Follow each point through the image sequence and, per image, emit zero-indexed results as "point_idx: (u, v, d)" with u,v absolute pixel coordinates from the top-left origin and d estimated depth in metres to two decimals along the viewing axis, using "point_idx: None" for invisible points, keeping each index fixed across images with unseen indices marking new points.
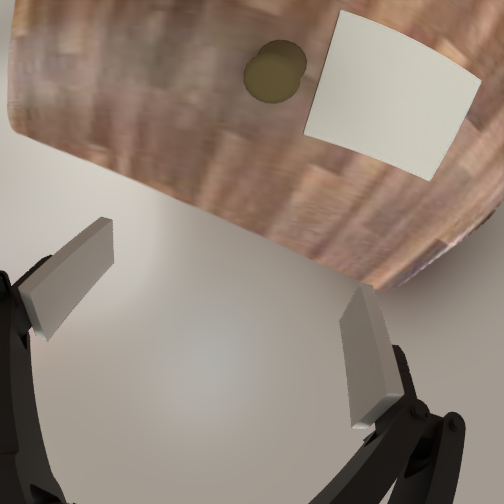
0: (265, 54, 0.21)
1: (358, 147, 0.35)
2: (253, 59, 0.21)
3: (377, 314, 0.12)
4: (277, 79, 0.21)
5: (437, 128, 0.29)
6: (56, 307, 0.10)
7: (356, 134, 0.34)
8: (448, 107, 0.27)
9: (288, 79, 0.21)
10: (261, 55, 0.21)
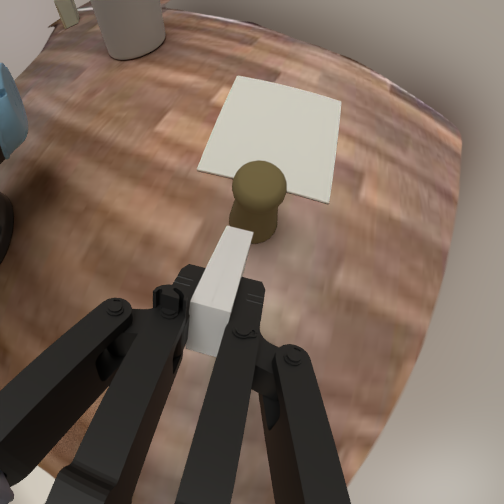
0: (233, 186, 0.26)
1: (330, 156, 0.39)
2: (238, 196, 0.26)
3: (241, 251, 0.14)
4: (258, 171, 0.26)
5: (291, 99, 0.41)
6: None
7: (318, 157, 0.39)
8: (270, 93, 0.41)
9: (258, 163, 0.26)
10: (234, 189, 0.26)
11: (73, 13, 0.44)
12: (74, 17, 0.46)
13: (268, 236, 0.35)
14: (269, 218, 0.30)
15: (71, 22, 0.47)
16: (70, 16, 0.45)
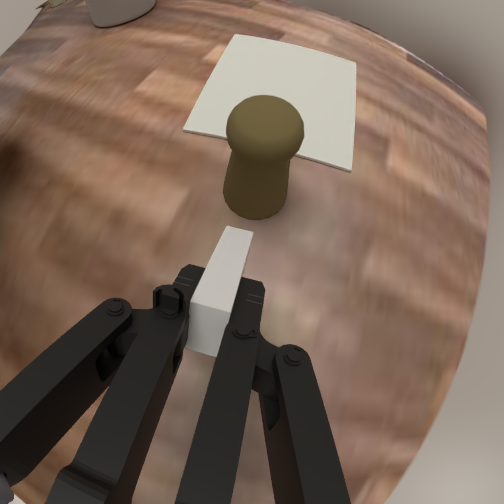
0: (228, 126, 0.17)
1: (349, 117, 0.30)
2: (234, 140, 0.17)
3: (241, 251, 0.14)
4: (264, 105, 0.16)
5: (298, 57, 0.32)
6: None
7: (335, 118, 0.29)
8: (273, 51, 0.32)
9: (264, 97, 0.17)
10: (229, 131, 0.17)
11: None
12: None
13: (275, 209, 0.26)
14: (279, 179, 0.21)
15: (58, 0, 0.37)
16: None
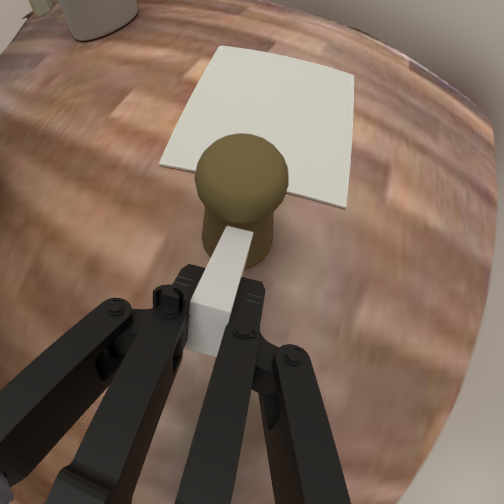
0: (196, 176, 0.15)
1: (345, 142, 0.27)
2: (203, 194, 0.15)
3: (241, 251, 0.14)
4: (239, 148, 0.14)
5: (289, 70, 0.30)
6: None
7: (329, 143, 0.27)
8: (261, 64, 0.30)
9: (239, 137, 0.15)
10: (197, 182, 0.15)
11: (45, 0, 0.33)
12: (46, 5, 0.34)
13: (259, 258, 0.23)
14: (260, 231, 0.19)
15: (43, 10, 0.35)
16: (41, 4, 0.33)
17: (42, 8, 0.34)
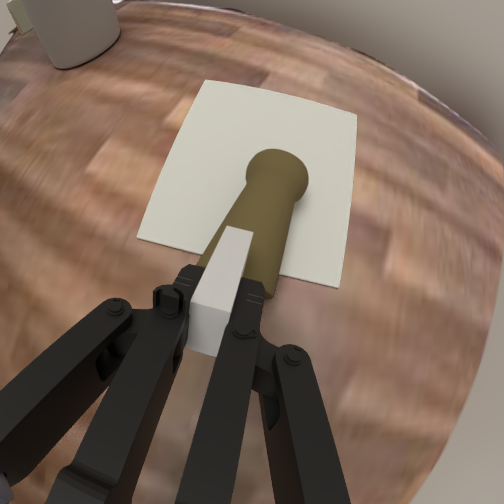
0: (256, 154, 0.22)
1: (343, 206, 0.26)
2: (267, 151, 0.21)
3: (241, 251, 0.14)
4: None
5: (283, 112, 0.28)
6: None
7: (324, 210, 0.26)
8: (251, 105, 0.28)
9: None
10: (259, 153, 0.22)
11: None
12: None
13: (272, 283, 0.20)
14: (287, 218, 0.21)
15: (27, 26, 0.34)
16: (26, 20, 0.32)
17: (26, 24, 0.33)
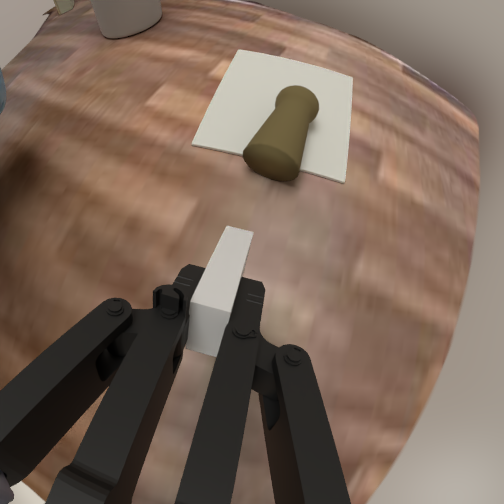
0: (283, 89, 0.29)
1: (344, 131, 0.33)
2: (291, 86, 0.29)
3: (241, 251, 0.14)
4: None
5: (298, 72, 0.35)
6: None
7: (331, 132, 0.33)
8: (274, 67, 0.35)
9: None
10: (285, 88, 0.29)
11: None
12: (69, 2, 0.40)
13: (298, 159, 0.27)
14: (306, 125, 0.28)
15: (65, 8, 0.41)
16: (65, 1, 0.39)
17: (65, 5, 0.40)
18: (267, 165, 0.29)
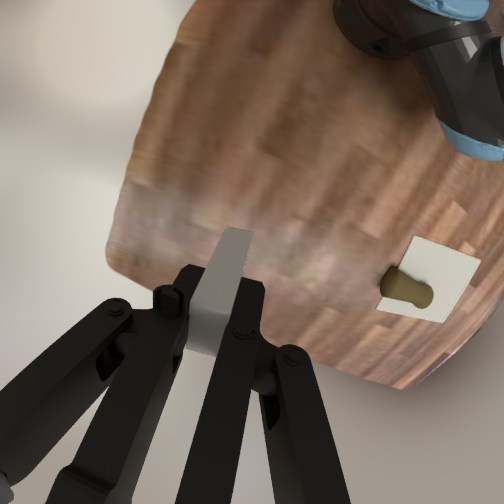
0: (432, 292, 0.48)
1: (405, 312, 0.56)
2: (432, 298, 0.48)
3: (241, 251, 0.14)
4: None
5: (451, 294, 0.52)
6: None
7: (406, 306, 0.55)
8: (459, 281, 0.50)
9: None
10: (432, 294, 0.48)
11: None
12: None
13: (386, 297, 0.50)
14: (406, 301, 0.50)
15: None
16: None
17: None
18: (389, 278, 0.50)
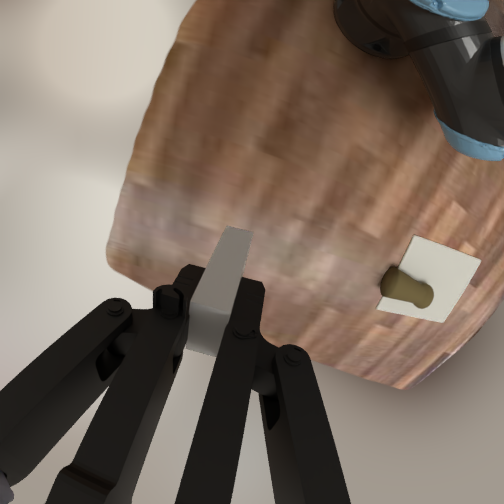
0: (433, 292, 0.48)
1: (405, 312, 0.56)
2: (432, 298, 0.48)
3: (241, 251, 0.14)
4: None
5: (452, 293, 0.52)
6: None
7: (406, 306, 0.55)
8: (459, 281, 0.50)
9: None
10: (432, 294, 0.48)
11: None
12: None
13: (387, 297, 0.50)
14: (406, 301, 0.50)
15: None
16: None
17: None
18: (389, 278, 0.50)
